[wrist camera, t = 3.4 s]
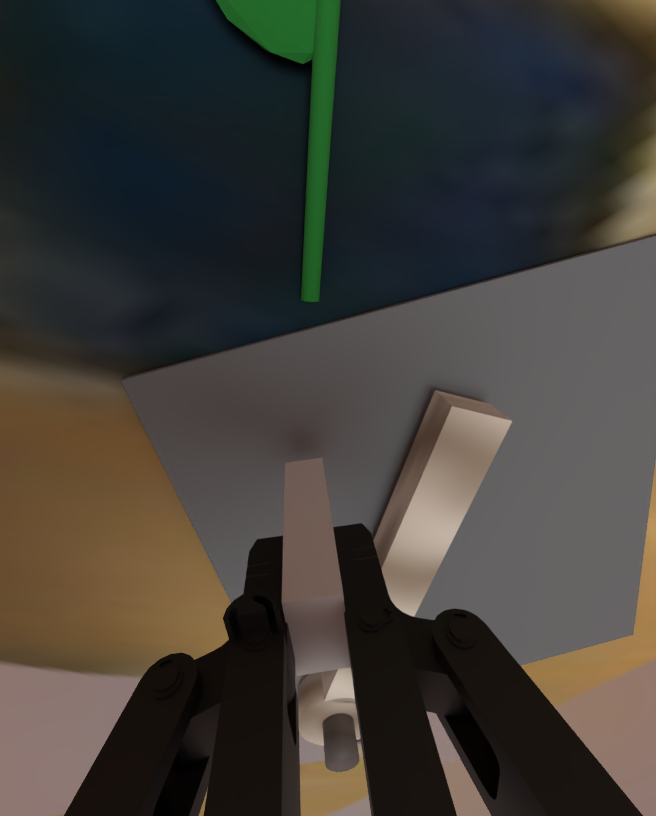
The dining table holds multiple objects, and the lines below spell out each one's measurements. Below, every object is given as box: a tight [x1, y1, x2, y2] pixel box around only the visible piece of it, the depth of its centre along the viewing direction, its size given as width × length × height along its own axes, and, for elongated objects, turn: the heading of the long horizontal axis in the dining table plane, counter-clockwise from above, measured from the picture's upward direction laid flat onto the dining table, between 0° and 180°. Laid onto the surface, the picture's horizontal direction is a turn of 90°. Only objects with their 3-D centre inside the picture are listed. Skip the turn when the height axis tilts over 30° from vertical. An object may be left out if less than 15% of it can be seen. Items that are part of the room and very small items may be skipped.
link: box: [297, 390, 512, 772], centre depth 21 cm, size 24×5×4 cm, turn 164°
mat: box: [120, 234, 656, 696], centre depth 23 cm, size 26×28×1 cm
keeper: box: [426, 711, 461, 764], centre depth 25 cm, size 4×6×5 cm, turn 14°
